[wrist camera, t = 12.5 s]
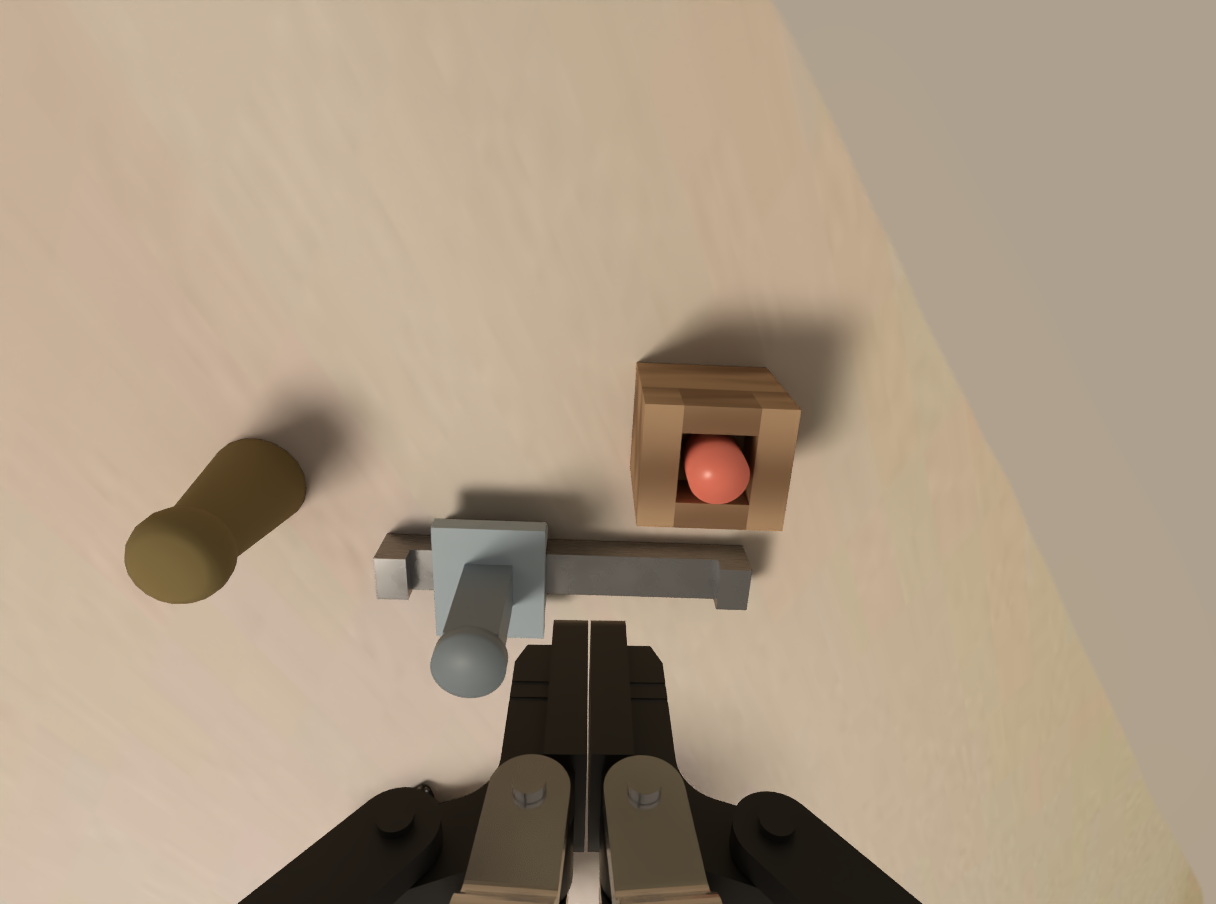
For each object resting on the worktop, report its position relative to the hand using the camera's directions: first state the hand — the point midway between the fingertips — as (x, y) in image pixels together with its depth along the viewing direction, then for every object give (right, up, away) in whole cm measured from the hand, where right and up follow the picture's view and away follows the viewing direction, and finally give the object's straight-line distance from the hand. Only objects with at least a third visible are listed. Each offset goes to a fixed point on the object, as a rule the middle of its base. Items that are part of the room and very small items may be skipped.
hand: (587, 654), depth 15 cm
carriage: (-7, -3, +34) cm, 35 cm away
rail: (-2, -3, +34) cm, 34 cm away
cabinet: (+6, +6, +30) cm, 31 cm away
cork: (-22, +2, +31) cm, 39 cm away
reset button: (+6, +4, +25) cm, 26 cm away
